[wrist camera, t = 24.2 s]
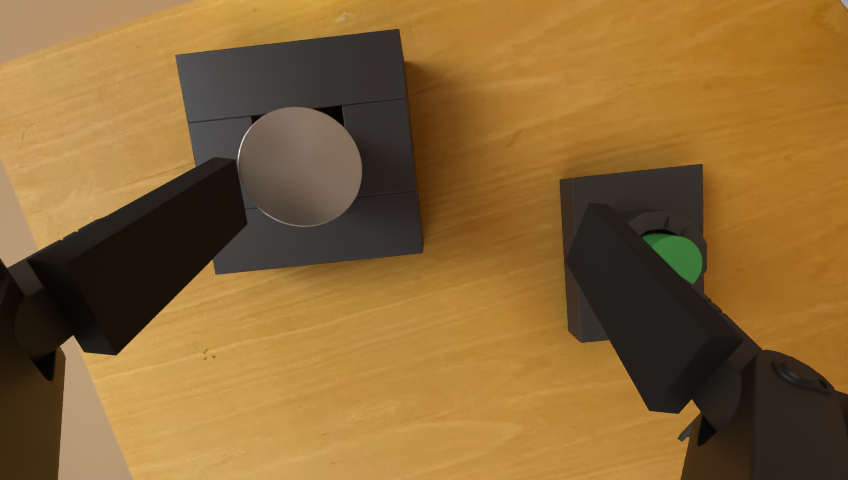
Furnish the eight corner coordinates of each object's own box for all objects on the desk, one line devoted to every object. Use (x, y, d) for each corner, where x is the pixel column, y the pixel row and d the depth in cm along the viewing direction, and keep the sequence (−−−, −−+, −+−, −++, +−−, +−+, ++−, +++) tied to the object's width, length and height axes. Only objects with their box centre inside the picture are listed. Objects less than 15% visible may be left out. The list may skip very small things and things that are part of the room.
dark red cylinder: (271, 136, 23) (219, 117, 12) (337, 125, 24) (347, 98, 13) (290, 201, 25) (259, 238, 13) (351, 188, 26) (373, 212, 14)
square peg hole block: (220, 81, 25) (174, 54, 20) (403, 60, 24) (399, 28, 20) (251, 262, 26) (215, 274, 22) (423, 244, 26) (423, 253, 21)
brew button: (625, 236, 22) (642, 239, 20) (680, 230, 22) (702, 232, 20) (627, 289, 22) (644, 296, 21) (681, 283, 22) (703, 290, 21)
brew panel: (559, 179, 25) (583, 175, 21) (679, 167, 25) (726, 160, 21) (568, 331, 27) (592, 354, 23) (681, 320, 26) (726, 341, 23)
